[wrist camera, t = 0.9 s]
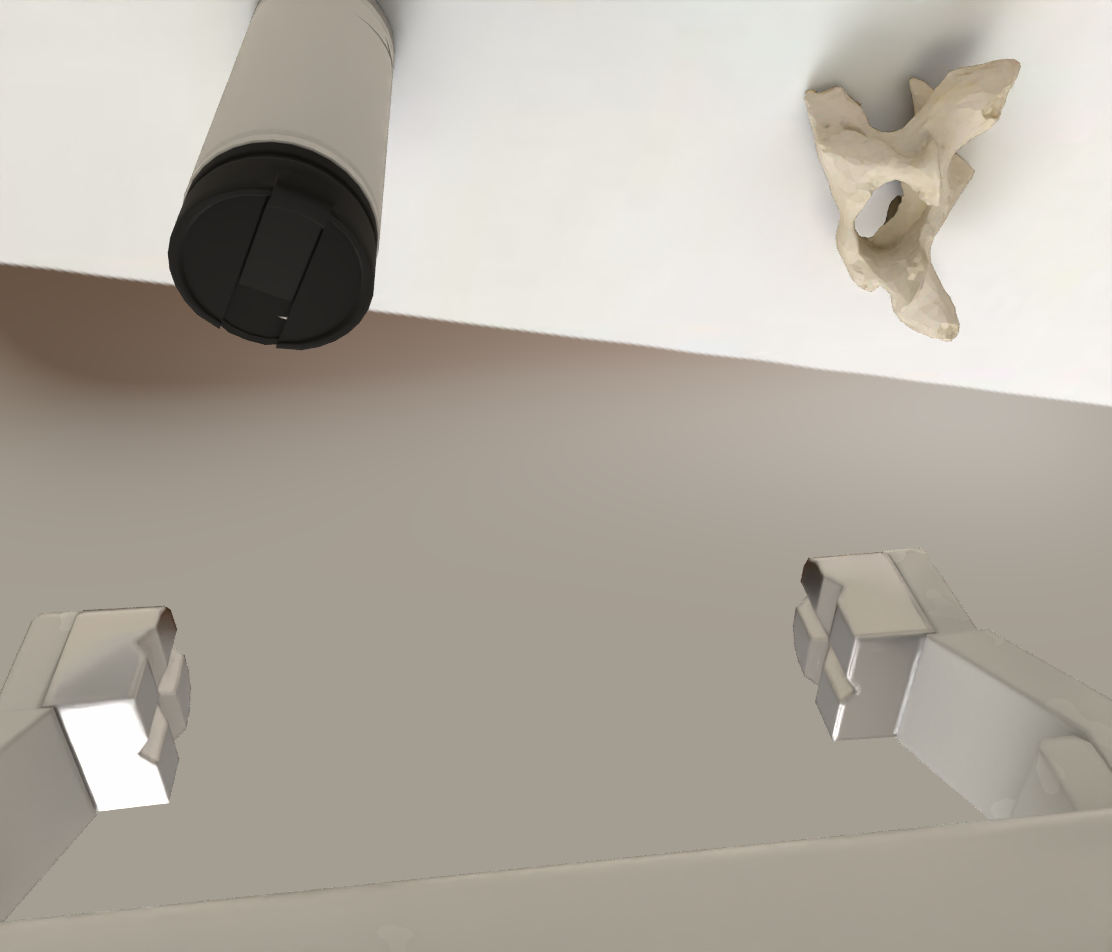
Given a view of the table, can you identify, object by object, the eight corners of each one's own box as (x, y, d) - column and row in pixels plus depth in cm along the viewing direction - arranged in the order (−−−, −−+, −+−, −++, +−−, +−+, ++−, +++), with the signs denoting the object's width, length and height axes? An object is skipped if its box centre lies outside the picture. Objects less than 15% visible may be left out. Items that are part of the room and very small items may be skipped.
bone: (951, 23, 48) (1051, 70, 42) (976, 267, 57) (1061, 337, 51) (776, 101, 49) (849, 159, 42) (827, 331, 57) (894, 408, 51)
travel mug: (419, 2, 45) (410, 231, 30) (366, 134, 48) (335, 394, 34) (278, -67, 42) (194, 144, 28) (234, 77, 46) (139, 330, 31)
